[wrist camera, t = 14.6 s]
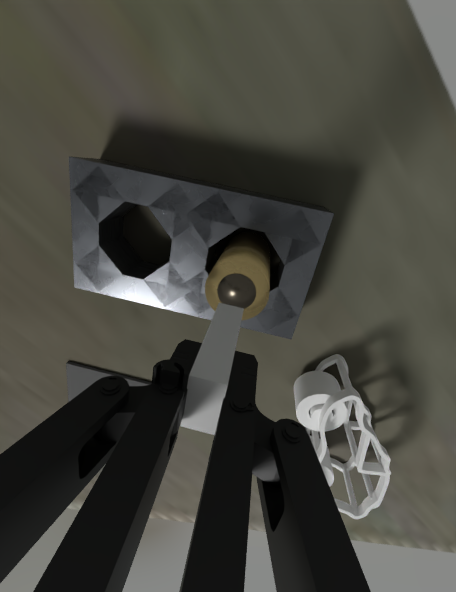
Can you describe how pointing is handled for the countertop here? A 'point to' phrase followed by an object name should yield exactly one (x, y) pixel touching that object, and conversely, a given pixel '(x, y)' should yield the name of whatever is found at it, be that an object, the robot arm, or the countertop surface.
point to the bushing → (241, 275)
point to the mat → (90, 378)
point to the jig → (187, 239)
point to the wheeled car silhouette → (332, 414)
